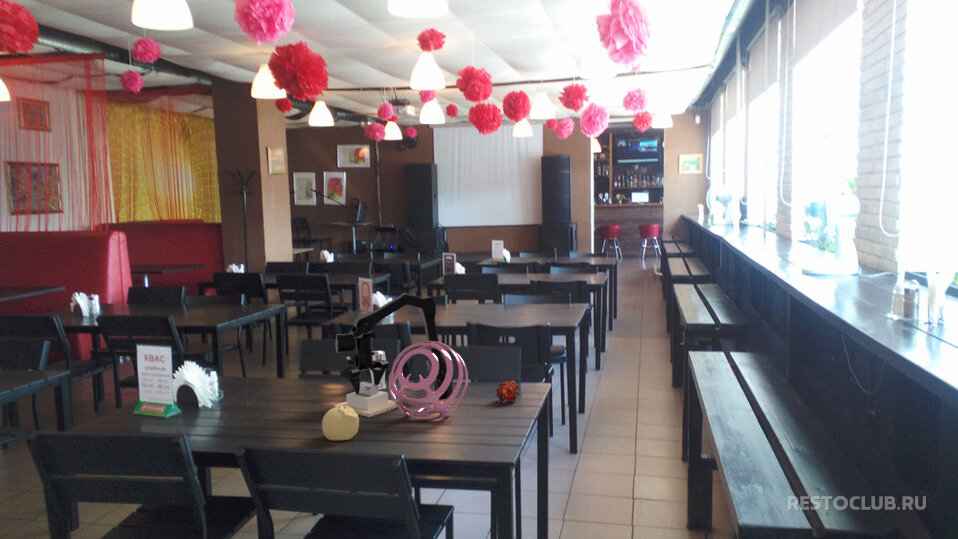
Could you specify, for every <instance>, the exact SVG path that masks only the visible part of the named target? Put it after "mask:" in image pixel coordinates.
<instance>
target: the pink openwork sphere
mask: <svg viewBox="0 0 958 539" xmlns="http://www.w3.org/2000/svg"><path fill="white" fill-rule="evenodd" d="M438 344H439V345H438ZM416 347H417V348H416ZM433 348H436V349H438V350H439V351H440V352H441V355H442V357H443V359H444V361H445V364H446V367H447V372H446V376H445V379H444V381H443V383H442V385H441V386H440V387H439V388H438V389H437V390H436V391H435V390H434V391H433V390H432V389H431V387H430V386H431V385H432V384H433V383H435V380H436V377H437V375H438V372H439V362H438V359H437V357H436V355H435V354H434V353H433V352H431V351H430V350H429V349H433ZM450 353H451V354H452V356H454V358H455V361H456V364H457V366H458V367H457V368H458V377H457V381H456V384H455V387H454V389H453V392H452V394H451V395H450V396H449V398H446V399H442V401H443V402H441V401H440V399H441V398H440V396H441V395H442V394H443V393H444V392H445V391H446V390H447V388H448V387H449V385H450V382H451V380H452V376H453V375H454V364H453V360H452V357H451V355H450ZM419 354H421V355H424V356H426V357H427V358H428V360H429V359H430V361H431V364H432V368H431V372H430V373H429V375H427V377H426V378H424V377H423V376H422V375H421V374H418V376H419V380H420V381H419V382H410V381H409V380H410V378H411V375H412V374H411V373H409V374H408V375H407V377H404V373H403V368H404V366H405V364H407V362H408V361H409V360H410V359H411V358H412V357H414V356H416V355H419ZM397 364H398V365H397ZM395 368H396V369H395ZM388 375H389V376H388V390H389V393H390V396H391V399H392V401H394V402H395V403H396V405H397V406H398V407H397V408H398V409H399V410H400V411H401V412H402V414H404V415H406V416H408V417H409V418H411V419H413V420H417V421H421V422H422V421H423V422H431V421H436V420H439V419H442V418H446V417H449V416H450V415H451V414H452V412H454V411H455V410H456V408H458V406H459V405H460V404H461V402H462V401H463V398H464V397H465V395H466V392H467V389H468V386H469V385H468V384H469V373H468V368H467V365H466V363H465V361H464V360H463V358H462V356H461V355H460V354H459V353H458V352H457V351H455V350H454V349H453V348H452V347H451V346H449V345H448V344H445V343H443V342H441V341H439V342H437V341H427V340H425V341H419V342H416V343H414V344H411V345H409V346H408V347H406V348H405V349H403V350H402V351H401V352H400V353H399V354H398V355H397V356H396V358H395V359H394V361H393V363H392V366H391V368H390V371H389V374H388ZM453 377H454V376H453ZM463 381H464V386H463ZM397 382H399V384H400V388H399V389H398V387H397ZM462 386H463V389H462V392H461V394H460V396H458V394H459V393H460V391H461V388H462ZM406 390H409V391H415V392H417V391H422V390H424V391H425V392H426V396H424V397H420V398H414V397H413V398H412V397H409V396H406V395H405V391H406ZM457 396H458V397H459V398H458V399H457V401H456V402H455V403H454V404H453V405H452V406H451V407H449V405H451V404H452V402H454V400H455V399H456V397H457ZM403 403H405V404H408V405H411V406H421V407H419V408H416V409H410V408H408V407H406V406H404V404H403ZM431 405H433V407H432V408H430V409H428V408H429V407H430V406H431ZM434 414H438V415H436V416H431V417H425V416H430V415H434Z"/></svg>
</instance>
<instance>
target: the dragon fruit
mask: <svg viewBox="0 0 958 539" xmlns="http://www.w3.org/2000/svg"><path fill="white" fill-rule="evenodd" d="M504 381H505V382H501V383H499V385H498V386H497V388H496V397H497V398H498V399H499V401H503V402H507V403H509V402H511V401H514V402H515V401H517V398H518V397H520V396H521V395H522V394H521V392H519V391H520V386H519V384H518V383H516V381H515V380H511V381H509V380H508V379H506V380H504Z"/></svg>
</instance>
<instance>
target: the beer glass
mask: <svg viewBox="0 0 958 539" xmlns="http://www.w3.org/2000/svg"><path fill="white" fill-rule="evenodd" d="M372 352H375V355H373V361H374V360H378V359H381V360H387V358H386V352H385V351H384V350H372ZM369 371H370V372H369V373H370V376H371V383H372V384H374V374H373V372H372V370H369ZM385 377H386V371H385V372H384V374H383V376H382V378H381V381H380V383H379V391H380V390H385V389H386V388H387V384H386V378H385Z"/></svg>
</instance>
